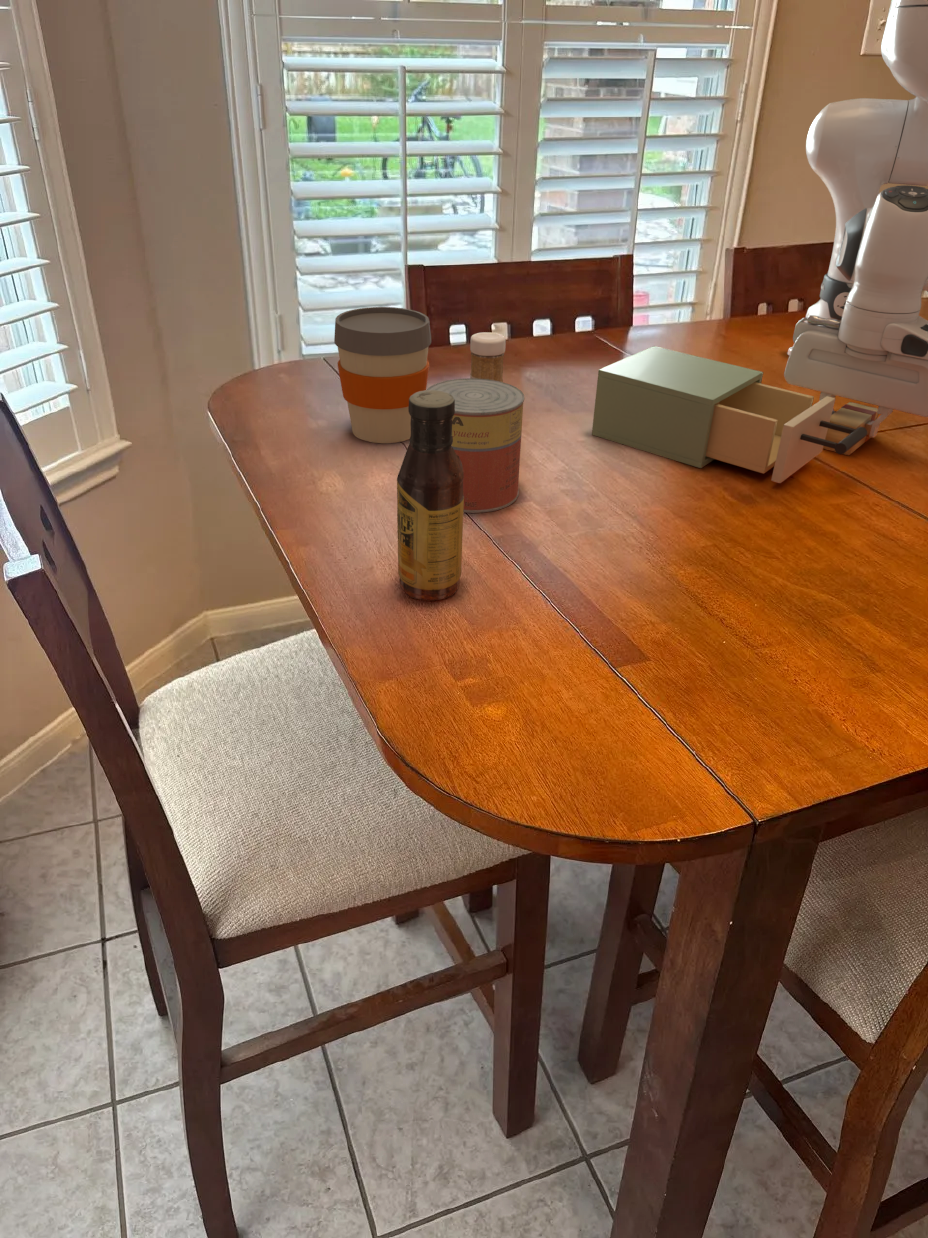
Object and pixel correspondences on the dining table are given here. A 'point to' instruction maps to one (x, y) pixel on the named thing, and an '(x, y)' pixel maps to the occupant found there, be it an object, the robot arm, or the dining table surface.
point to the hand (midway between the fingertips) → (849, 430)
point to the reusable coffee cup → (382, 368)
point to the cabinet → (665, 401)
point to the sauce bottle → (430, 501)
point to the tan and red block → (850, 423)
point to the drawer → (774, 430)
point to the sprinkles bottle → (487, 356)
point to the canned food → (486, 440)
